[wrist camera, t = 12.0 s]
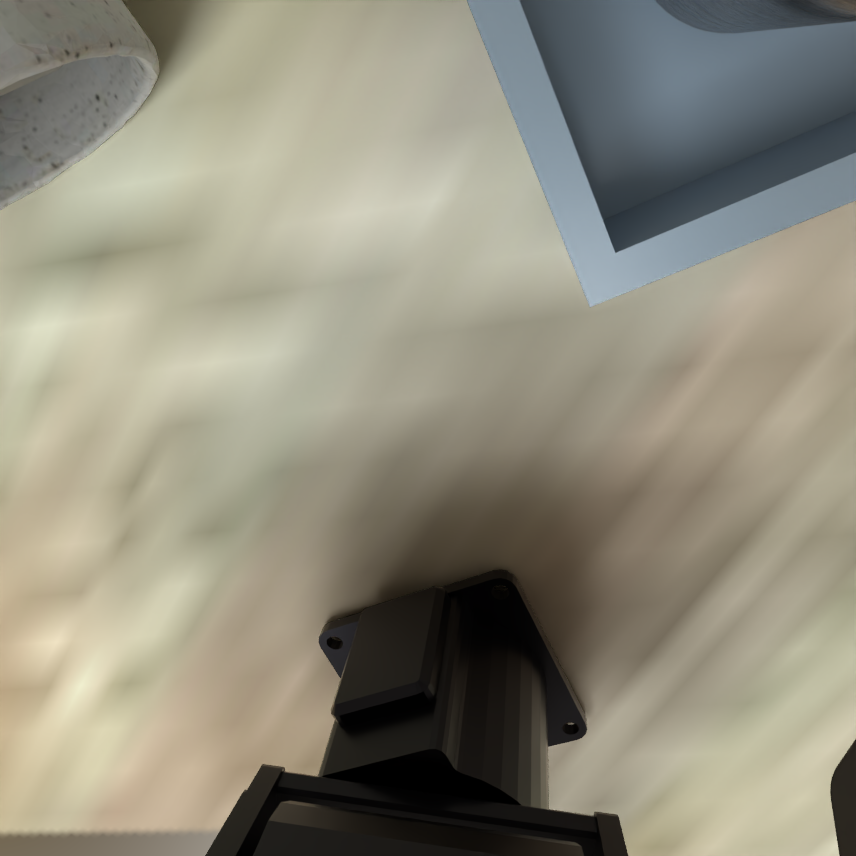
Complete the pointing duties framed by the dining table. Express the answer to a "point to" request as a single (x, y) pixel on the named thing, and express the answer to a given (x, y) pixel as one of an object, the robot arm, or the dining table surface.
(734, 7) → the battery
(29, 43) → the grey cylinder
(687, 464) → the dining table surface
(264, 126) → the dining table surface
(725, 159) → the tray
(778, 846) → the dining table surface
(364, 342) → the dining table surface
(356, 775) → the robot arm
